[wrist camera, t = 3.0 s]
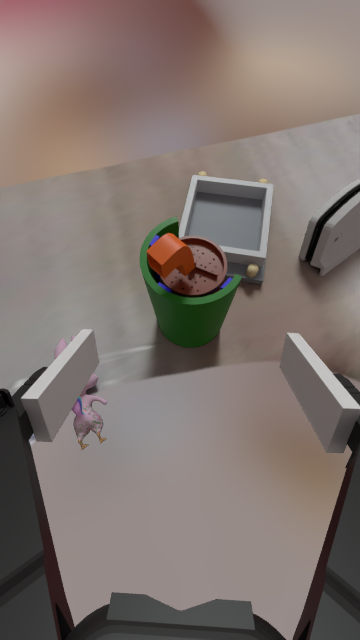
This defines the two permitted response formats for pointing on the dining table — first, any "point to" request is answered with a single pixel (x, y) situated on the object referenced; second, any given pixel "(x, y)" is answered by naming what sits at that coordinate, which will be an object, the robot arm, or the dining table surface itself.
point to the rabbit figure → (84, 406)
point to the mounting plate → (231, 221)
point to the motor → (186, 284)
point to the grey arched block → (334, 230)
